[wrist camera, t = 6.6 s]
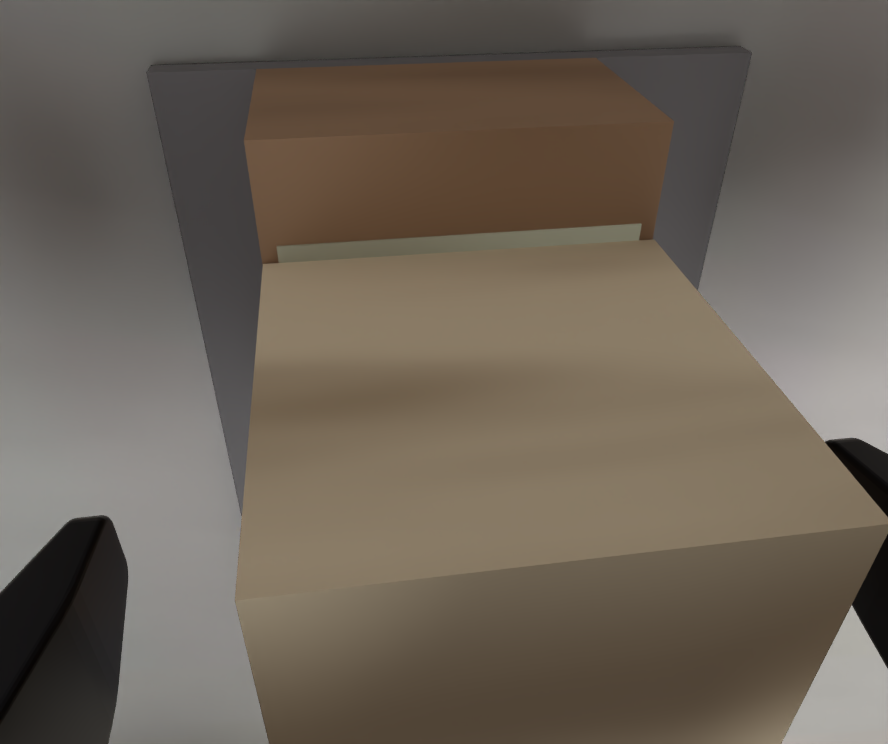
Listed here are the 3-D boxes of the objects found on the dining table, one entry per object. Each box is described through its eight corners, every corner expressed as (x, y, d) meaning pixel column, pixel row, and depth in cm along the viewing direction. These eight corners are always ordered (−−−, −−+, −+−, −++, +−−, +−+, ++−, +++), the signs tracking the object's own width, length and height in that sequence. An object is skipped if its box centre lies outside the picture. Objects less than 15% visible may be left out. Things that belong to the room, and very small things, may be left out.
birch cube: (603, 510, 13) (741, 822, 9) (303, 543, 12) (305, 895, 8) (654, 239, 10) (893, 523, 6) (263, 264, 9) (235, 600, 5)
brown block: (549, 455, 16) (593, 567, 14) (310, 479, 16) (312, 601, 13) (595, 57, 11) (675, 122, 9) (256, 68, 11) (243, 142, 8)
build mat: (607, 649, 21) (612, 661, 21) (282, 693, 20) (282, 707, 20) (739, 46, 12) (752, 52, 12) (150, 65, 11) (146, 72, 11)
